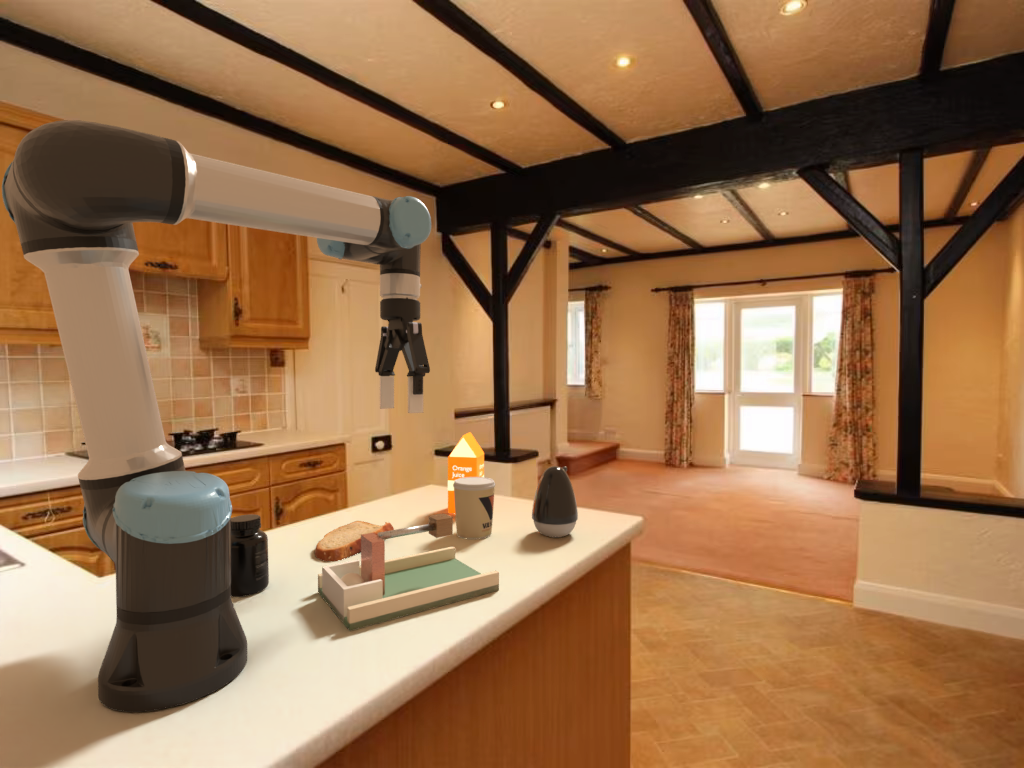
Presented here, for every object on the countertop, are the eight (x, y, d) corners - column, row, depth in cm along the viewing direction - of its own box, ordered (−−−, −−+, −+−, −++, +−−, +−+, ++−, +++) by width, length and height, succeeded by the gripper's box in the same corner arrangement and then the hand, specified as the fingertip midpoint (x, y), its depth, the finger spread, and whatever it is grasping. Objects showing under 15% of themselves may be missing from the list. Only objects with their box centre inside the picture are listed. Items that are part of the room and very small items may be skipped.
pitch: (349, 630, 76) (349, 595, 76) (318, 592, 89) (317, 562, 89) (498, 590, 90) (499, 560, 90) (452, 562, 103) (452, 536, 103)
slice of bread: (319, 565, 102) (319, 546, 102) (305, 539, 118) (305, 522, 118) (411, 550, 111) (411, 532, 111) (386, 528, 127) (386, 512, 127)
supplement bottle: (259, 578, 95) (259, 510, 95) (275, 589, 90) (274, 517, 90) (217, 589, 90) (216, 517, 90) (230, 601, 85) (229, 526, 85)
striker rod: (372, 597, 84) (372, 533, 83) (361, 587, 88) (360, 525, 87) (455, 577, 92) (455, 518, 92) (441, 568, 96) (441, 512, 96)
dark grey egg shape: (585, 531, 123) (586, 464, 123) (564, 544, 114) (565, 472, 114) (546, 524, 129) (546, 460, 128) (523, 536, 120) (523, 467, 120)
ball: (371, 594, 84) (348, 609, 82) (362, 585, 87) (339, 600, 85) (362, 572, 83) (338, 587, 81) (353, 564, 86) (330, 578, 84)
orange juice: (447, 513, 138) (447, 435, 138) (456, 505, 147) (456, 431, 146) (477, 515, 137) (477, 436, 136) (484, 506, 146) (484, 432, 145)
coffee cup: (489, 541, 116) (489, 485, 115) (447, 539, 118) (447, 483, 117) (499, 529, 125) (499, 477, 125) (460, 526, 127) (460, 475, 126)
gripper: (448, 293, 96) (448, 414, 96) (393, 306, 116) (393, 406, 117) (409, 289, 91) (409, 416, 92) (358, 304, 112) (359, 407, 112)
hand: (400, 410), depth 104 cm, fingers open, 13 cm apart
